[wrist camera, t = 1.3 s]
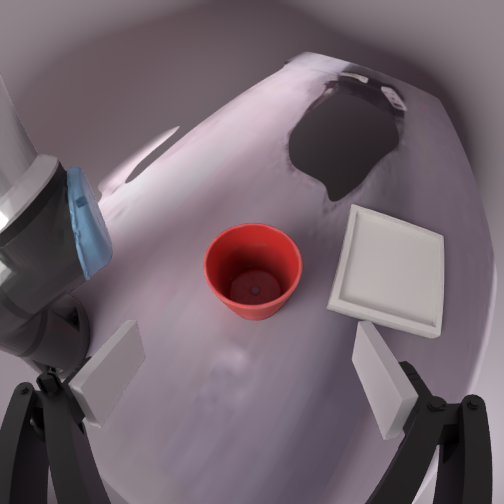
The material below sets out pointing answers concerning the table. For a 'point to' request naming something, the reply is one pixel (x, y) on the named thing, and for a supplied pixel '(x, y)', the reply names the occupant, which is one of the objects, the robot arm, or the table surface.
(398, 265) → the drip tray
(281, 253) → the flower pot
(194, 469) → the table surface
